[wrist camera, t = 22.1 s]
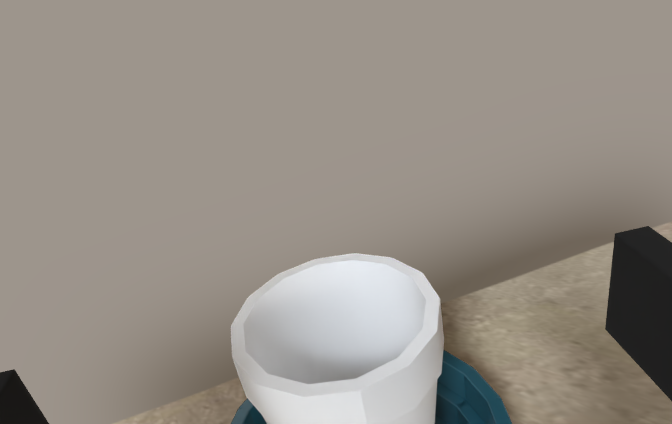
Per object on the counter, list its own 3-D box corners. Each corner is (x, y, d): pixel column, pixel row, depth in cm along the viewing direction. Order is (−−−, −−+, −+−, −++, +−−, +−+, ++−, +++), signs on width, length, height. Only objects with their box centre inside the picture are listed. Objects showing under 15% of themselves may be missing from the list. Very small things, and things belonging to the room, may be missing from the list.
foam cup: (402, 400, 34) (375, 234, 28) (497, 519, 27) (487, 325, 21) (270, 469, 31) (208, 301, 25) (332, 626, 24) (265, 437, 18)
